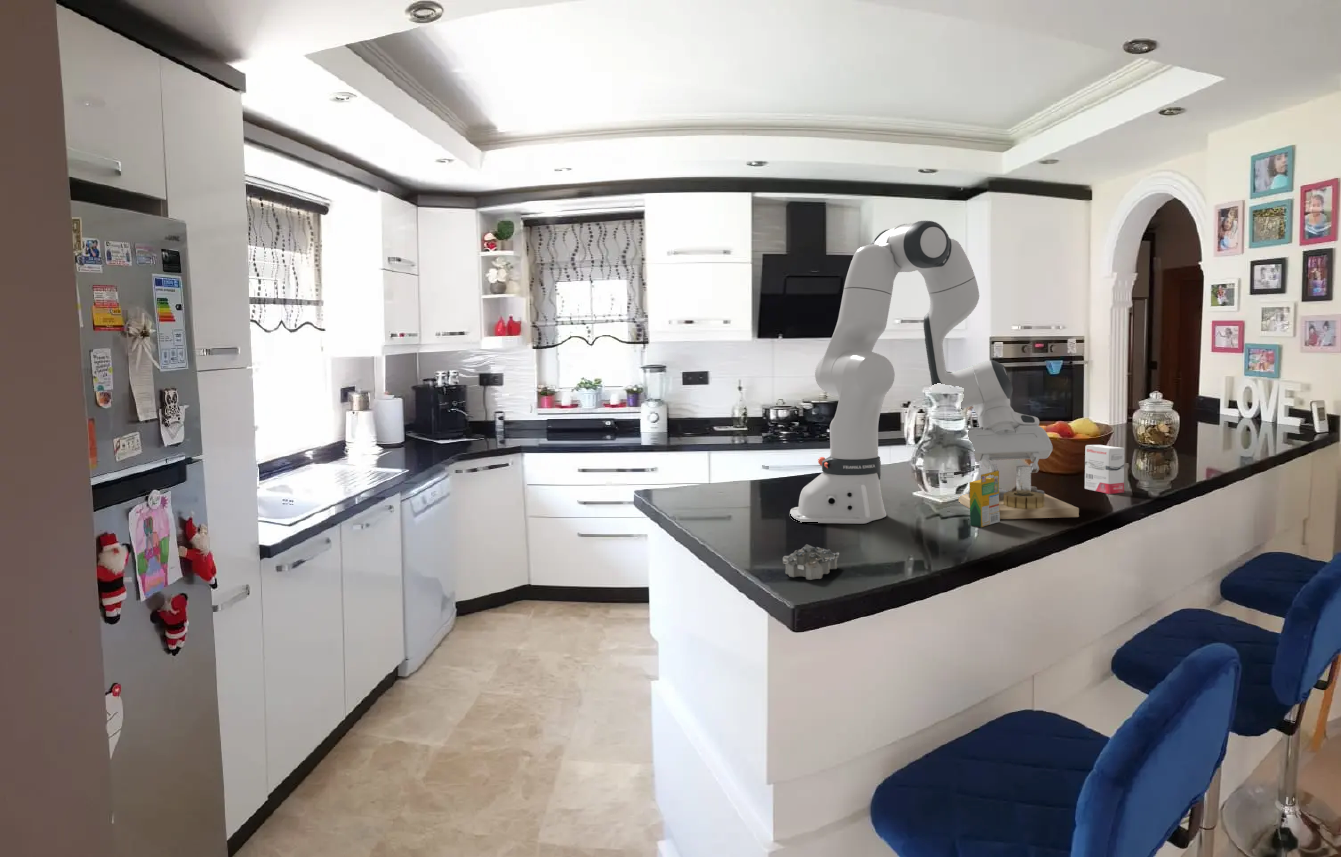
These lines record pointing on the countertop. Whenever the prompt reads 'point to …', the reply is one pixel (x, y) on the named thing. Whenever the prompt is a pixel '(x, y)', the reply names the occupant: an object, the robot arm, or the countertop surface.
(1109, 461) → the ink box
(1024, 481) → the input shaft
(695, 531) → the countertop surface
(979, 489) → the crayon box
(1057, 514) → the gear board
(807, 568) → the egg carton
